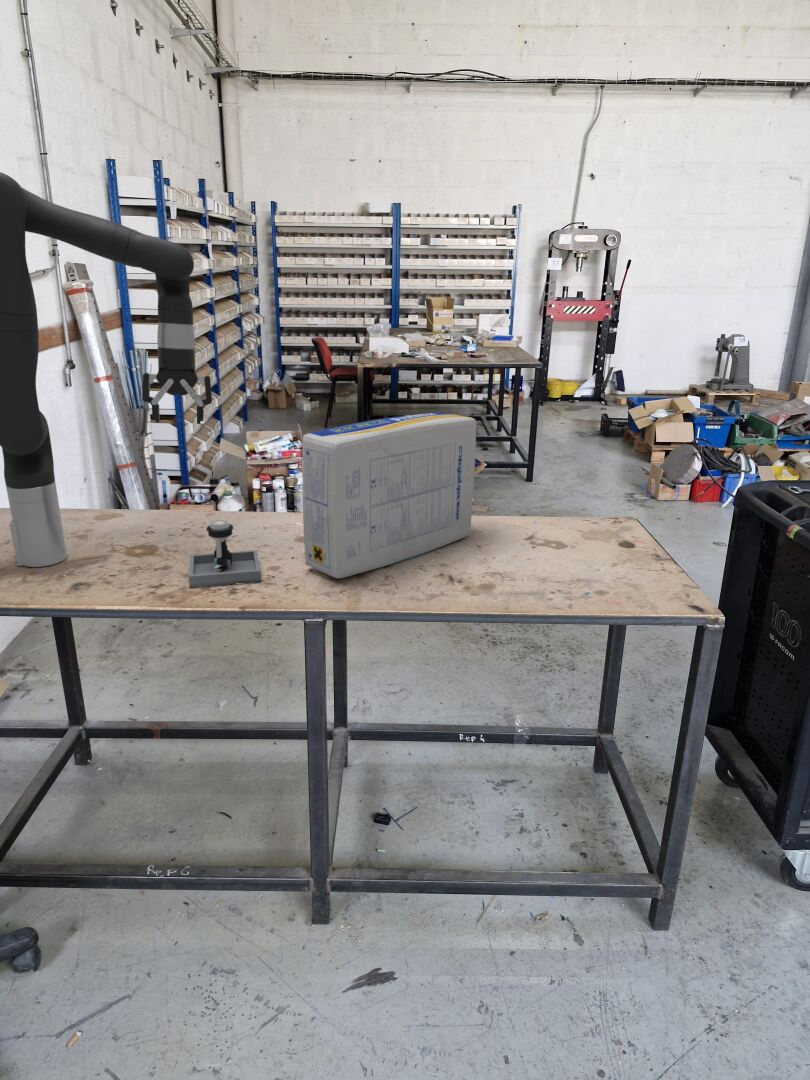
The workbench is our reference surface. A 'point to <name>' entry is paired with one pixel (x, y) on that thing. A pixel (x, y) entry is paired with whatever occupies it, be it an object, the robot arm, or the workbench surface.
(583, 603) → the workbench surface
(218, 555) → the push button
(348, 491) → the construction material bag
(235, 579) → the tray
